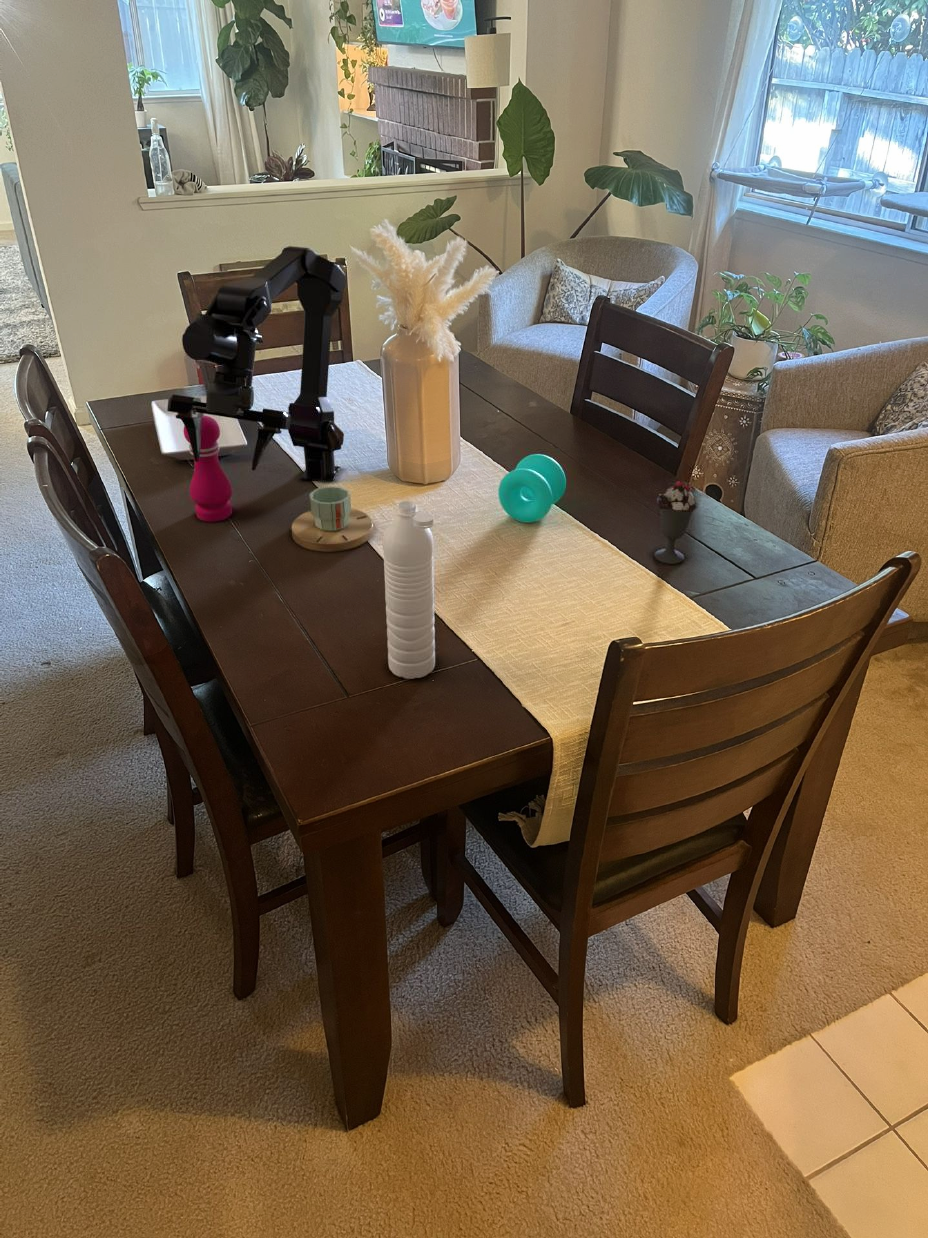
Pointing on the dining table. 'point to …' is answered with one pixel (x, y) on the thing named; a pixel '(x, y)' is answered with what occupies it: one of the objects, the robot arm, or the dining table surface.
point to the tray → (175, 441)
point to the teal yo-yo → (532, 488)
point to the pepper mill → (209, 476)
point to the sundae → (674, 519)
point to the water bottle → (410, 592)
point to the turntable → (332, 533)
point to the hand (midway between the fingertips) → (225, 465)
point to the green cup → (330, 507)
